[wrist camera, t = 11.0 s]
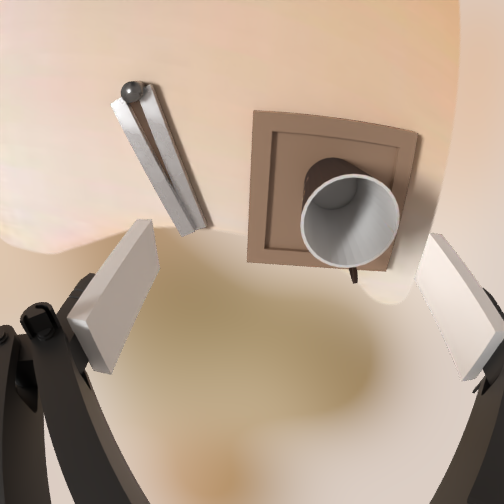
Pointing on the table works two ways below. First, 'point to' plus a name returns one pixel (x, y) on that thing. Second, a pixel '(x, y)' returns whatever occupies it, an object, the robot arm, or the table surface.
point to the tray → (296, 167)
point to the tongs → (183, 197)
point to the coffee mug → (346, 215)
